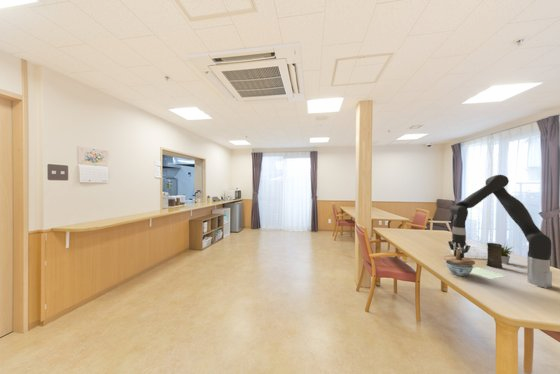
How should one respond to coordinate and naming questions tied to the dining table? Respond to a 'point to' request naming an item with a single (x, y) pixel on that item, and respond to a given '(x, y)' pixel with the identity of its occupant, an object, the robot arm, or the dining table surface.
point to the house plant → (505, 255)
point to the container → (494, 255)
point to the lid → (459, 259)
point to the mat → (486, 273)
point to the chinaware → (459, 268)
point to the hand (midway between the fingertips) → (458, 257)
